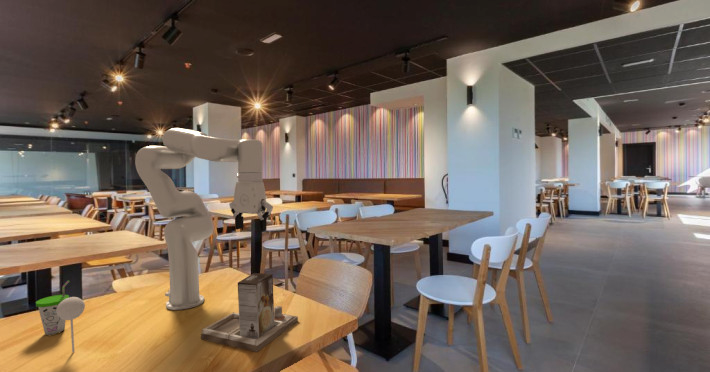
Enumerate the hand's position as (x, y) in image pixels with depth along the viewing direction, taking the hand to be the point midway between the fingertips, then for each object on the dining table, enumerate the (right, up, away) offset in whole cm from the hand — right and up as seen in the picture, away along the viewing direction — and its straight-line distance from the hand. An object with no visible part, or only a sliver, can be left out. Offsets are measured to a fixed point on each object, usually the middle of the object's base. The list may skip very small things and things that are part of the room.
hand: (250, 230), depth 112 cm
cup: (-58, -31, -7) cm, 66 cm away
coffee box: (+6, -28, -13) cm, 32 cm away
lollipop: (-42, -31, -19) cm, 56 cm away
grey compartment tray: (+3, -29, -8) cm, 30 cm away
